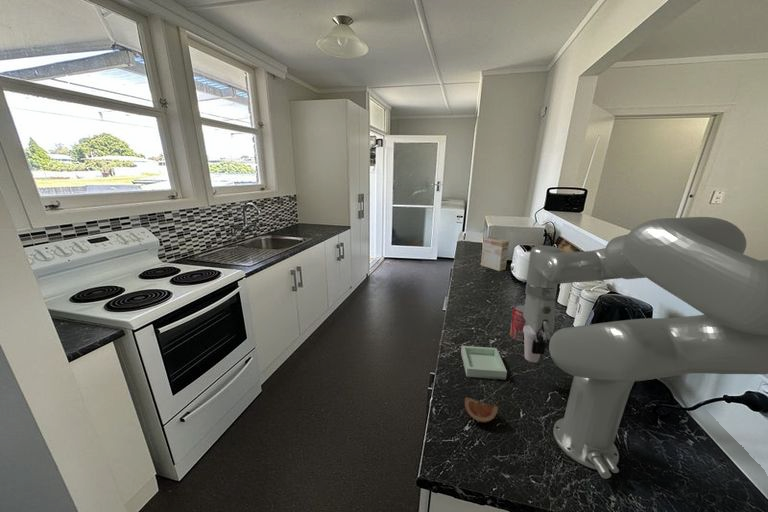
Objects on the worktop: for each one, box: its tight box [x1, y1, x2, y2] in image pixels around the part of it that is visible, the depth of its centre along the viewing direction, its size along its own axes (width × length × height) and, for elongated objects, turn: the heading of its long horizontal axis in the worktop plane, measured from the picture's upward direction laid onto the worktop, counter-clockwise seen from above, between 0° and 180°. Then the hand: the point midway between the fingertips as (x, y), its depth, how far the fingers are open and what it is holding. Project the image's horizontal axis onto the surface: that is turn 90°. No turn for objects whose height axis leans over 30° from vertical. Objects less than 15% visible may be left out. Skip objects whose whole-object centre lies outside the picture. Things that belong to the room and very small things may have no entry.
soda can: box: [509, 303, 525, 343], centre depth 105 cm, size 7×7×13 cm
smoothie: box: [523, 325, 543, 363], centre depth 81 cm, size 6×6×14 cm
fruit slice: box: [463, 396, 499, 423], centre depth 72 cm, size 8×7×5 cm
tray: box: [460, 345, 508, 380], centre depth 92 cm, size 12×12×3 cm
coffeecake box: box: [480, 236, 510, 272], centre depth 184 cm, size 15×7×20 cm, turn 32°
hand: (532, 346), depth 81 cm, fingers closed on smoothie, 6 cm apart
